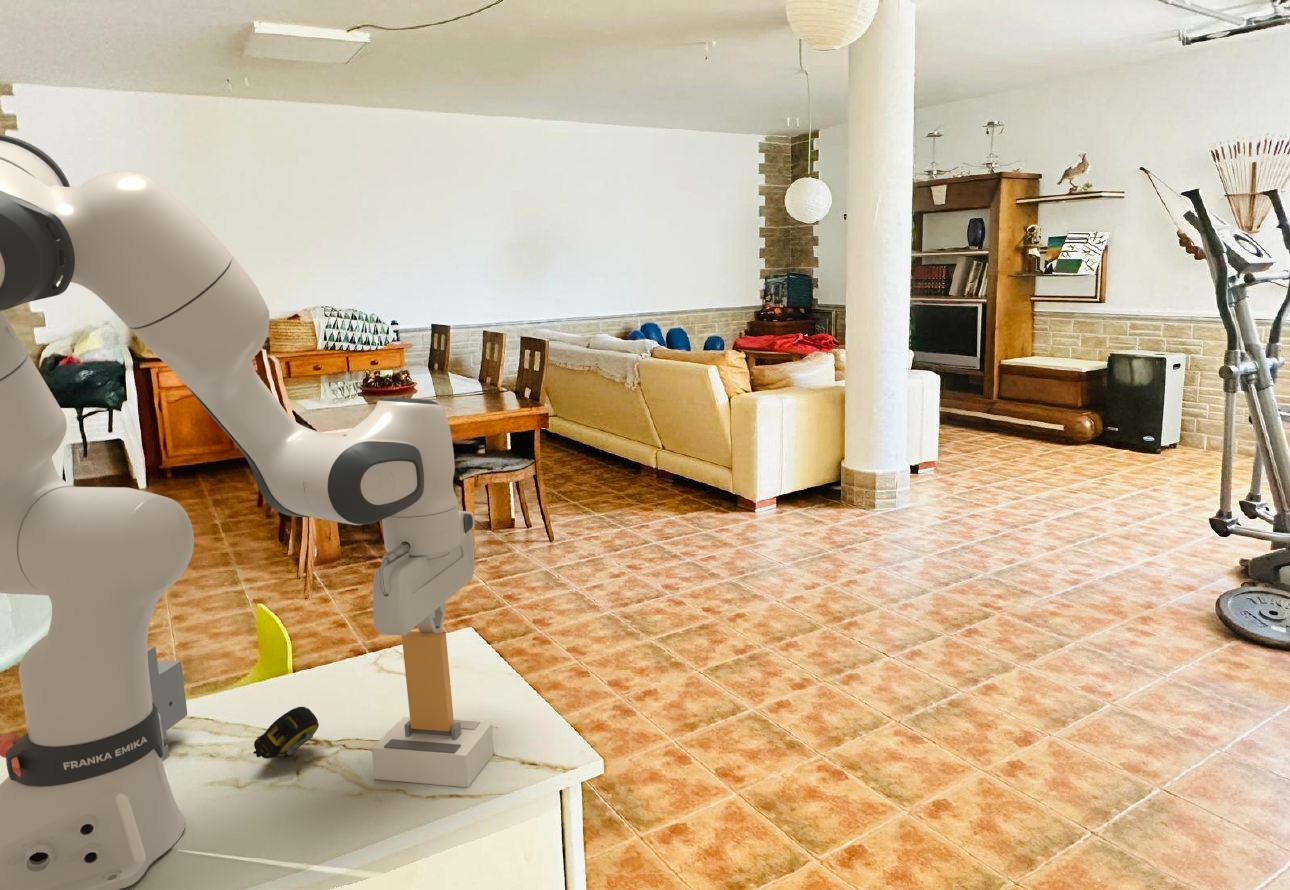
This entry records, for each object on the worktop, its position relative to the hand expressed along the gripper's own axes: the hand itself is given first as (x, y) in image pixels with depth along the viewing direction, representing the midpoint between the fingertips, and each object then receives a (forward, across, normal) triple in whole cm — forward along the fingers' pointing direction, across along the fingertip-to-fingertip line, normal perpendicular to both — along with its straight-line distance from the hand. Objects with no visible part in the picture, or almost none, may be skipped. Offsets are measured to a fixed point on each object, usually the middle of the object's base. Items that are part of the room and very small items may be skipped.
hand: (432, 642), depth 106 cm
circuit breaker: (+15, -6, +39) cm, 42 cm away
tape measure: (+15, -4, +19) cm, 25 cm away
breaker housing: (+15, -2, 0) cm, 15 cm away
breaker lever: (+11, -2, 0) cm, 11 cm away
